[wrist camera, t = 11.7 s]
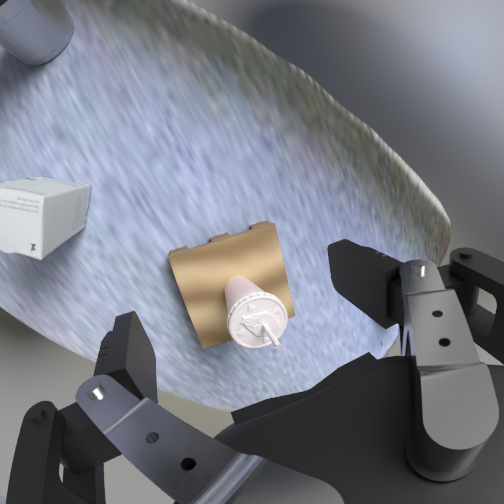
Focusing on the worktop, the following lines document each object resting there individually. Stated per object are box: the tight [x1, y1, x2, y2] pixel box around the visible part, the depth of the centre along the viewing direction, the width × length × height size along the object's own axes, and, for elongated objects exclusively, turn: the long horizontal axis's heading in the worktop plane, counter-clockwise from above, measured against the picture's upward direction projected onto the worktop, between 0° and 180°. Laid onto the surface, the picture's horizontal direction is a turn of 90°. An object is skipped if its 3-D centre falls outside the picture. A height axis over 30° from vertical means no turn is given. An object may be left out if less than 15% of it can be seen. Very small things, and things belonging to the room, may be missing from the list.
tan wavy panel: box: [168, 221, 295, 349], centre depth 41 cm, size 14×14×3 cm
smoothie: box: [224, 276, 288, 349], centre depth 33 cm, size 6×6×14 cm
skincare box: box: [0, 177, 92, 260], centre depth 26 cm, size 8×6×15 cm
